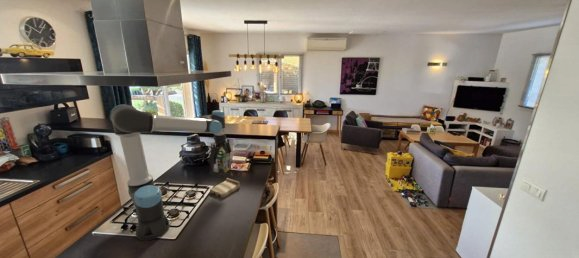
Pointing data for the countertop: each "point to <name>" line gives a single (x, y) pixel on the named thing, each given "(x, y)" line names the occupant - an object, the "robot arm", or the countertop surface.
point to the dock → (225, 188)
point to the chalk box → (222, 162)
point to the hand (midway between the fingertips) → (221, 165)
